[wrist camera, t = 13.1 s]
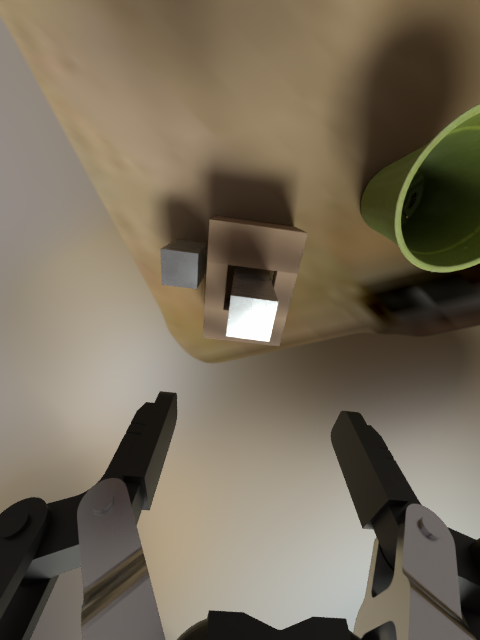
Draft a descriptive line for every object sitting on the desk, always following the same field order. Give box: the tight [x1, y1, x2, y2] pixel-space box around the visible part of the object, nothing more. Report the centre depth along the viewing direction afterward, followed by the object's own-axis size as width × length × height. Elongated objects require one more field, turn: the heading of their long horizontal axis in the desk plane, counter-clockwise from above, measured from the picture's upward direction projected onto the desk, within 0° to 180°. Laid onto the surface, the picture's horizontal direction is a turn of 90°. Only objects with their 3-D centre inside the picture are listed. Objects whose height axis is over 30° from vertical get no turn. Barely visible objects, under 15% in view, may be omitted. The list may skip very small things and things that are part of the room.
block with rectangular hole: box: [203, 216, 308, 346], centre depth 29 cm, size 14×10×7 cm
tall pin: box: [226, 266, 278, 341], centre depth 25 cm, size 4×4×14 cm
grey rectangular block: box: [161, 239, 208, 289], centre depth 28 cm, size 4×4×7 cm
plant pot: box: [361, 104, 480, 272], centre depth 22 cm, size 12×12×11 cm
